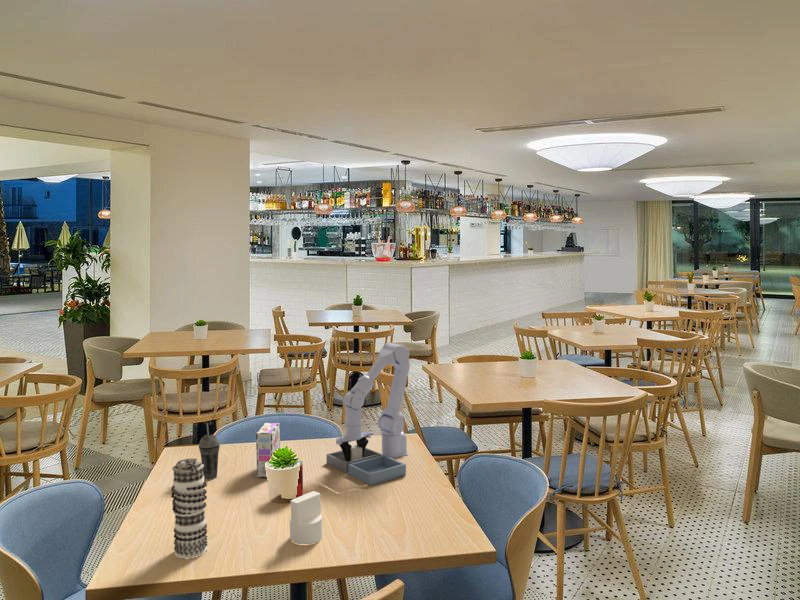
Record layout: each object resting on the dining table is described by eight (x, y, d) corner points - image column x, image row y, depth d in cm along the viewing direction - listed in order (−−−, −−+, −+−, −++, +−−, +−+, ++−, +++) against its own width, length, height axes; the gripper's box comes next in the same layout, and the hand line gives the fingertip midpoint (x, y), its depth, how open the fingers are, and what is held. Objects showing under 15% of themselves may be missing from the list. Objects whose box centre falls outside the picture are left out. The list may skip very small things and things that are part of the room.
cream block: (355, 460, 242) (355, 445, 241) (362, 463, 238) (362, 447, 238) (345, 462, 239) (345, 447, 238) (352, 466, 235) (352, 450, 235)
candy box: (272, 478, 225) (271, 432, 223) (256, 478, 225) (255, 432, 224) (281, 464, 239) (280, 422, 237) (265, 464, 239) (264, 422, 237)
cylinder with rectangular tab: (307, 528, 185) (306, 488, 184) (329, 537, 179) (328, 495, 178) (283, 539, 178) (282, 497, 177) (305, 548, 172) (304, 506, 171)
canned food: (274, 497, 208) (273, 464, 207) (289, 489, 215) (288, 457, 214) (292, 501, 204) (292, 468, 203) (307, 493, 211) (307, 461, 210)
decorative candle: (212, 543, 176) (210, 455, 174) (203, 559, 167) (200, 467, 164) (179, 543, 176) (176, 455, 173) (168, 560, 166) (165, 467, 164)
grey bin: (361, 455, 249) (361, 445, 248) (381, 464, 239) (381, 454, 238) (326, 464, 239) (326, 454, 238) (346, 474, 229) (345, 463, 228)
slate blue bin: (383, 465, 237) (383, 455, 237) (405, 475, 227) (405, 464, 227) (348, 475, 227) (348, 464, 227) (369, 485, 217) (369, 474, 217)
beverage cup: (224, 473, 229) (222, 419, 228) (216, 481, 222) (214, 425, 220) (204, 473, 230) (202, 419, 228) (196, 480, 223) (194, 424, 221)
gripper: (363, 418, 245) (363, 452, 246) (331, 425, 236) (331, 460, 237) (373, 422, 239) (374, 457, 241) (341, 429, 230) (342, 465, 231)
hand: (353, 459), depth 238 cm, fingers open, 5 cm apart
